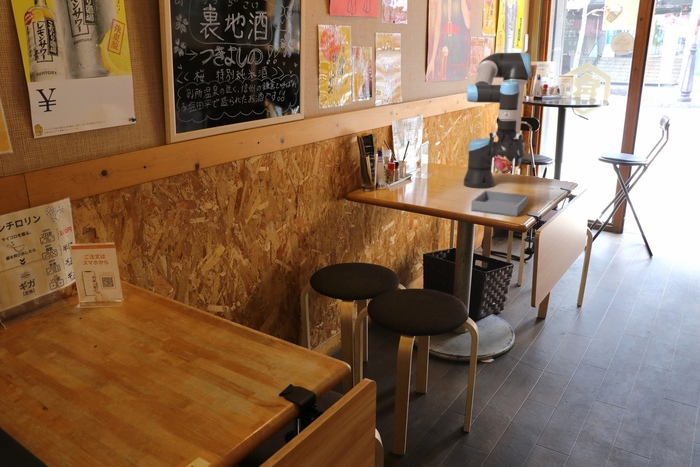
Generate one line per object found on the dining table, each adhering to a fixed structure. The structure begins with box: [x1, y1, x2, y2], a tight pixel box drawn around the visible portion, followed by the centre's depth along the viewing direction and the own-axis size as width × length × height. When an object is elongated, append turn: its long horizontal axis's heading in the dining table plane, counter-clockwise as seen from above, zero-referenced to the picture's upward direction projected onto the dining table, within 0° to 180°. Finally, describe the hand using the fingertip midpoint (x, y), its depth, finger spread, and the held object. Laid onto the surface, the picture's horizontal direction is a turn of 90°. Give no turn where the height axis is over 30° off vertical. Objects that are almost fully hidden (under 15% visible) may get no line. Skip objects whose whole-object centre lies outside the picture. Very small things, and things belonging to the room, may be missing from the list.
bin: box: [470, 190, 529, 218], centre depth 251 cm, size 20×20×4 cm
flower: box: [494, 155, 513, 175], centre depth 247 cm, size 10×9×8 cm
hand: (503, 173), depth 247 cm, fingers closed on flower, 8 cm apart
